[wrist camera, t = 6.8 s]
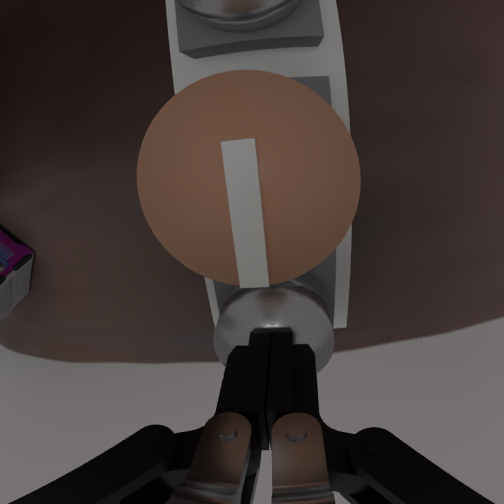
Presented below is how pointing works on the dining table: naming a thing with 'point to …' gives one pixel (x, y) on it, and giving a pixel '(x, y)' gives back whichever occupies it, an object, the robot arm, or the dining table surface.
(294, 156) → the dial knob
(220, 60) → the grey knob panel
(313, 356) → the robot arm
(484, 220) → the dining table surface
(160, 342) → the dining table surface
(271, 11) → the plunger
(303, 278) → the plunger
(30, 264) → the candy bar box
